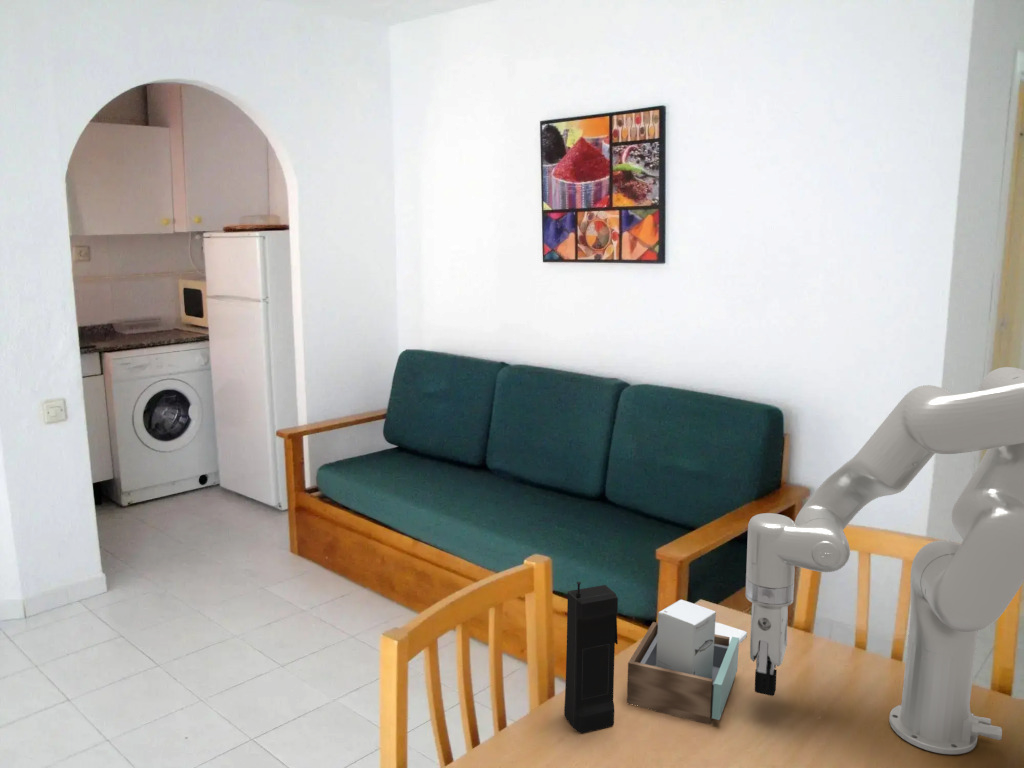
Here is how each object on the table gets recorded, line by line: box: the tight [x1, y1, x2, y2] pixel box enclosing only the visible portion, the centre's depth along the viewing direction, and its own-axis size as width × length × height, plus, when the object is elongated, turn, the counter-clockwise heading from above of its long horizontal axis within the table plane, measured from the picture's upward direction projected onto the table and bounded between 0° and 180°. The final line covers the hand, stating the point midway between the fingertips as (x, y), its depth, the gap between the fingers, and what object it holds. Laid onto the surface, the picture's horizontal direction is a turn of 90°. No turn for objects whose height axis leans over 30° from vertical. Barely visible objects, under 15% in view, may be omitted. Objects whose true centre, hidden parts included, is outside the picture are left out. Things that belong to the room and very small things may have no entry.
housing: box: [626, 621, 730, 725], centre depth 143 cm, size 14×16×8 cm
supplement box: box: [656, 599, 717, 679], centre depth 141 cm, size 7×7×13 cm
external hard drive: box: [715, 621, 748, 644], centre depth 160 cm, size 2×8×12 cm
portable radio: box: [563, 581, 619, 734], centre depth 132 cm, size 8×6×25 cm
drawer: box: [640, 635, 740, 721], centre depth 142 cm, size 14×17×6 cm
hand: (765, 691), depth 137 cm, fingers closed
